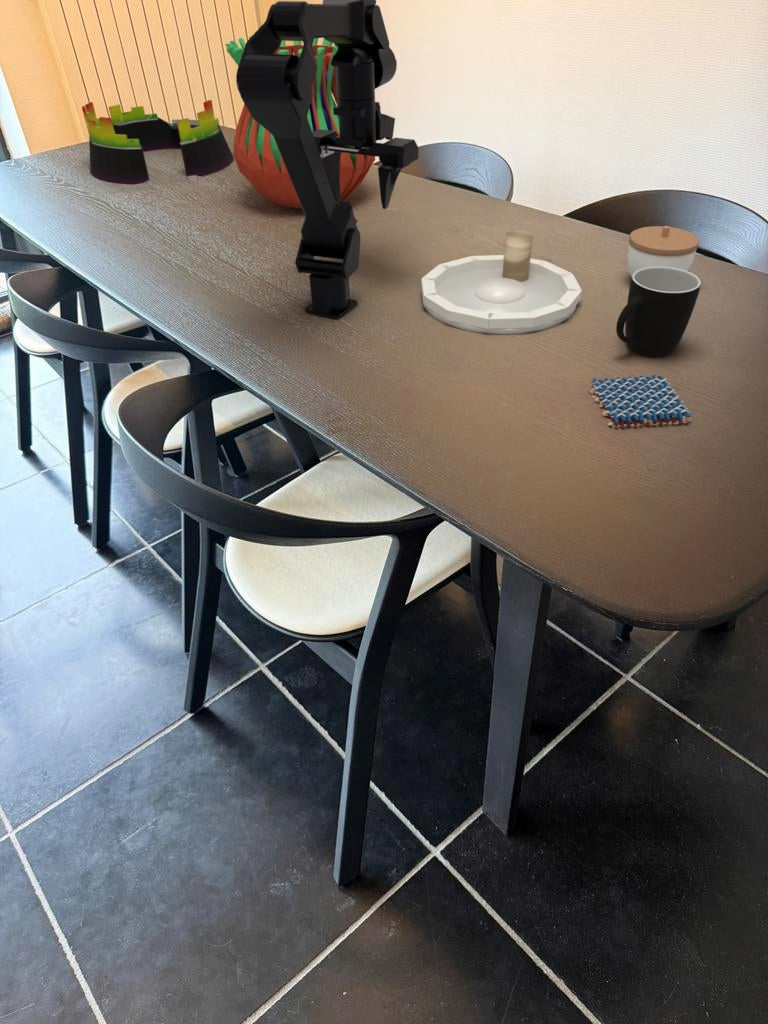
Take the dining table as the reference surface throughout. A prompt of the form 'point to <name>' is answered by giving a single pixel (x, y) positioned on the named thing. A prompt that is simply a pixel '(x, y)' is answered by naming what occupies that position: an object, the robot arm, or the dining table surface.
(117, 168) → the decorative container
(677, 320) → the mug
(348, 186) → the vase
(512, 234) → the tan rounded cylinder
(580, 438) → the dining table surface
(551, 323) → the ring tray
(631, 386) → the woven mat
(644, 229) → the lidded jar
